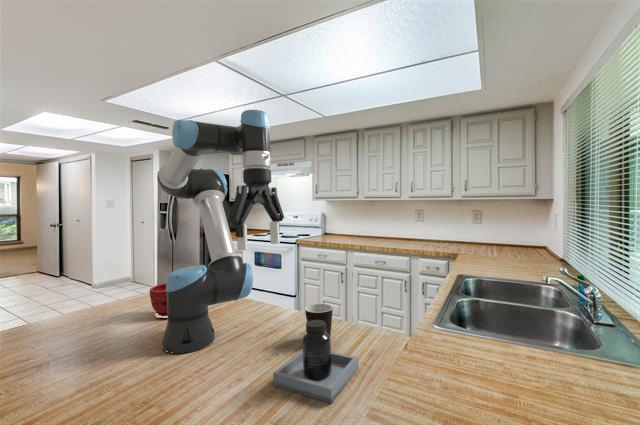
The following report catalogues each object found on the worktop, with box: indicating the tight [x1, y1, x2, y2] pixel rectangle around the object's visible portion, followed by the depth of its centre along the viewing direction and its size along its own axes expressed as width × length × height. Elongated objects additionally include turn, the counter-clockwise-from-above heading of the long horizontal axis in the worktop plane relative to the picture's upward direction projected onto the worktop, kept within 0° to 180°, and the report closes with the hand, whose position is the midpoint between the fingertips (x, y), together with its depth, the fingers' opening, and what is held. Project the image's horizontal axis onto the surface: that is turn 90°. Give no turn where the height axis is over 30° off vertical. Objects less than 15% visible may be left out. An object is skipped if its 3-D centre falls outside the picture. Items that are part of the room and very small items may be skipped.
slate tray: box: [272, 349, 359, 404], centre depth 74 cm, size 15×15×3 cm
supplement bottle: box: [301, 320, 332, 380], centre depth 74 cm, size 7×7×12 cm
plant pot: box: [149, 282, 168, 316], centre depth 122 cm, size 13×13×12 cm
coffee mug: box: [304, 303, 334, 338], centre depth 96 cm, size 12×9×10 cm
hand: (259, 246), depth 84 cm, fingers open, 13 cm apart
